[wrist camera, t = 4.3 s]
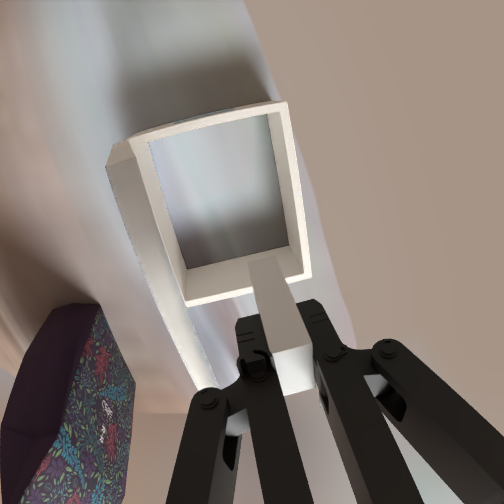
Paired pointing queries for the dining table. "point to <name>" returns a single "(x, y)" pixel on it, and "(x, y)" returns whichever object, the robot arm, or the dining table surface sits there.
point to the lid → (156, 261)
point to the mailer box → (236, 270)
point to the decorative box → (68, 415)
